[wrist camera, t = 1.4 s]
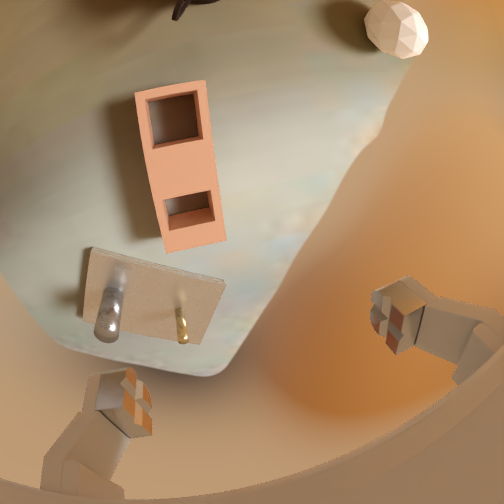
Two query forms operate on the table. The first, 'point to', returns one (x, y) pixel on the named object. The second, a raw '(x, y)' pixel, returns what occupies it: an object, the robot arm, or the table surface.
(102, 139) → the table surface
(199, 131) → the link
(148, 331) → the post plate
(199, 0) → the coffee mug
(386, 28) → the geometric ball
